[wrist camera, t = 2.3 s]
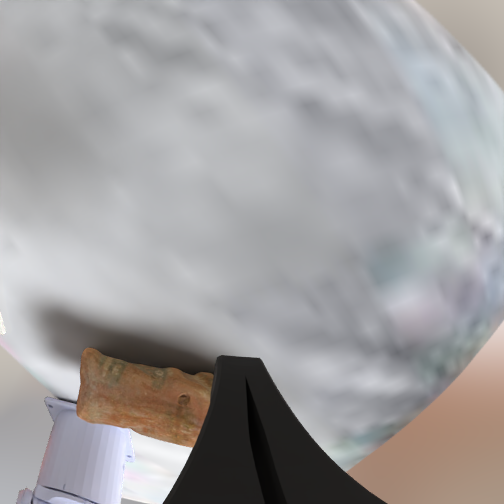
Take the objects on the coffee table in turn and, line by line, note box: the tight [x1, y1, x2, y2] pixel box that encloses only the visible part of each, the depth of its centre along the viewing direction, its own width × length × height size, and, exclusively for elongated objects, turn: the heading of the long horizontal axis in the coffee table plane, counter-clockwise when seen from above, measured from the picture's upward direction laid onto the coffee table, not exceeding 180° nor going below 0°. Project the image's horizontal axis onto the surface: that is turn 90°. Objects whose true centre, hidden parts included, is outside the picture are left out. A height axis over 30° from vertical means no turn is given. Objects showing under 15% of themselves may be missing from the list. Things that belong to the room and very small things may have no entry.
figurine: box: [76, 348, 214, 447], centre depth 19 cm, size 8×8×15 cm
